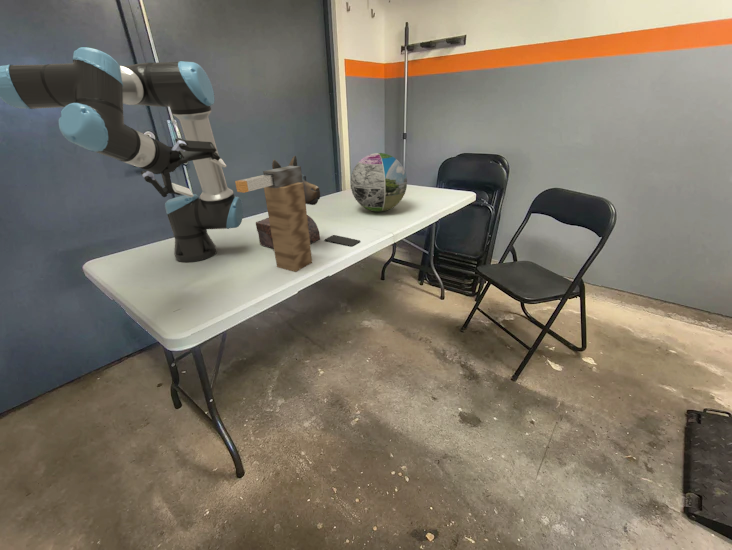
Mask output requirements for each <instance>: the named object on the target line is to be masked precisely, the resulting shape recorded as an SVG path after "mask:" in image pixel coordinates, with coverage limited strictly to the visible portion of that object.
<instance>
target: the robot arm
mask: <svg viewBox="0 0 732 550" xmlns="http://www.w3.org/2000/svg"><path fill="white" fill-rule="evenodd" d="M71 59H72V63H48V64H7V65H0V99H1V101H3V102H4V103H5V104H7V105H9V106H10V107H13V108H16V109H29V110H35V109H52V108H53V109H54V108H56V109H57V108H62V110H61V111H60V115H61V116H60V117H59V118H58V128H59V131H60V133H61V134H62V137H63V138H65V139H66V140H67V141H68V142H69V143H72V144H73V145H74V144H75V145H77V146H78V147H81V148H83V149H86V150H88V151H90V152H93V153H97V154H99V155H103V156H106V157H109V158H111V159H115V160H117V161H119V162H122V163H125V164H128V165H130V166H131V165H132V166H133V167H137V168H139V169H142V171H141V172H140V174H141V176H142V178H143V179H144V181H145V182H147V183H150V184H151V185H152V186H153V187H154V188H155V190H156V191H157V192H158V193H159V194H160V195H161V196H162V198H166V197H167V196H168V194H170V195H171V194H172V195H176V197H173V198H170V199H168V200H166V201H165V203H164V208H165V211H166V216H167V218H168V222H169V225H170V229H171V231H172V234H173V238H174V248H173V249H174V251H173V254H174V258H175V260H176V261H178V262H179V263H180V262H182V263H193V262H199V261H203V260H206V259H207V260H208V259H209V258H211V257H214V256H215V255H216V254H217V252H218V249H217V246H216V244H215V242H214V241H213V240H212V238H211V236H210V235H209V233H208V230H222V229H223V230H224V229H227V230H230V229H236V228H237V229H238V228H239V227H240V226H241V223H242V221H243V217H244V216H243V214H244V209H243V208H244V207H243V201H242V199H241V198H240V197H239V196H235V194H234V190H233V189H231V188H229V187H228V184H227V180H226V177H225V174H224V170H223V168H227V164H226V163H225V161H224V160H223V159H222V158H221V157H220V155H219V151H218V147H217V145H216V141H215V137H214V133H213V130H212V126H211V123H210V122H211V121H210V119H209V117H210V114H211V113H212V107H211V106H213V105H214V104H215V92H214V88H213V85H212V82H211V80H210V78H209V75H208V74H207V72H206V71H205V69H204V68H203V67H202V66H201V64H198V63H197V62H195V61H183V60H180V61H163V62H142V63H136V64H129V65H120V64H119V63H118V62H117V60H116V59H114V58H113V56H111V55H109V54H108V53H106V52H104V51H101V50H100V49H96V48H93V47H86V46H85V47H83V46H82V47H78V48H77V49H75V50H74V51H73V56H72V58H71ZM124 105H127V106H134V105H135V106H136V105H138V106H147V107H149V106H150V107H157V108H158V107H159V108H161V107H163V108H164V107H165V108H166V107H168V108H170V111H171V114H172V115H173V116H174V117H175V118H177V119H178V120H179V122H180V126H181V129H182V132H183V135H184V138H185V139H183V138H180V137H176V138H175V142H176V143H175V144H173V146H169V145H166V144H165V143H164V142H162V141H159V139H158V140H157V139H155V138H153V137H151V136H149V135H147V134H145V133H143V132H141V131H138V130H137V129H135V128H133V127H131V126H129V125H127V124H125V122H124V120H125V116H124ZM190 161H192V163H193V166H194V168H195V172H196V175H197V178H198V181H199V185H200V187H201V191H202V192H201V194H200V195H199V196H198V194H196V193H192V191H191V189H190V188H188V187H185V186H183V185H180V184H177V183H174V182H172V179H171V178H172V177H171V174H170V173H172V172H173V173H174V172H175V171H176V169H177V168H179V167H180V166H181V165H183V164H187V163H188V162H190ZM155 175H161V178H162V182H163V186H164V187H163V186H162V185H161V184H160V183H159V181H158V180H157V179H156V176H155ZM177 195H178V196H177Z"/></svg>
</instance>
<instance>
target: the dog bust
mask: <svg viewBox="0 0 732 550" xmlns="http://www.w3.org/2000/svg"><path fill="white" fill-rule="evenodd" d="M271 165H272V166H271V167H272V169H277V168H281V167H282V165H280V163H279V162H278V161H277V160H276V159H273V160H272V163H271ZM288 166H298V159H297V156H296V155H294V156H293V157H292V158H291V160H290V162H289V164H288ZM300 183H303V185H304V194H305V203H306V205H310V206H315V205H317V203H318V202H319V200H320V199H321V191H320V187H319V186H317V185H316V184H314V183H311V182H309V181H307V176H306V175H305V174H303V173H302V182H300ZM307 220H308V229H309V238H310V245H311V244H313V243H315V242H316V241H319V240H320V239H321V233H320V230H319V227H318V225H317V223H316V222H315V220H314V219H313V218H312V217H311V216H309V214H307ZM255 226H256V232H257V234H258V239H259V245H260V246H264V247H267V248H272V249H274V246H273V240H272V234H271V228H270V222H269V217H267V218H264V219H261V220H257V221H256V222H255Z"/></svg>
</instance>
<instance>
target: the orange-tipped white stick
mask: <svg viewBox="0 0 732 550" xmlns="http://www.w3.org/2000/svg"><path fill="white" fill-rule="evenodd" d="M234 182H235V187H236V192H237V193H248V192H251V191H256V190H259V189H260V190H261V189H264V188H265V187H268V186H272V185H275V184H274V177H273V174H265V175H264V174H262V175H257V176H256V175H255V176H252V177H248V178H242V179H238V180H234Z"/></svg>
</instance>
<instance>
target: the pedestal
mask: <svg viewBox="0 0 732 550" xmlns="http://www.w3.org/2000/svg"><path fill="white" fill-rule="evenodd" d="M262 172H263V173H262V175H265V174H273V177H274V184H275V185H272V186H268V187H265V188H263V190H264V196H265V203H266V209H267V215H268V216H267V217H268V218H269V222H270V228H271V234H272V240H273V246H274V248H273V251H274V256H275V262H276V267H277V268H280V269H283V270H286V271H287V270H288V271H290V272H295V273H297V272H298V271H300V270H302V269H304V268H305V267H307V266H309V265H311V264H313V257H312V249H311V244H310V238H309V229H308V220H307V215H308V213H307V204H306V203H305V194H304V185H303V183H300V182H302V174H303V173H302V166H299V165H297V166H289V165H288V166H283V167H282V166H281V168H277V169H273V168H272V169H267V170H262Z"/></svg>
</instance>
